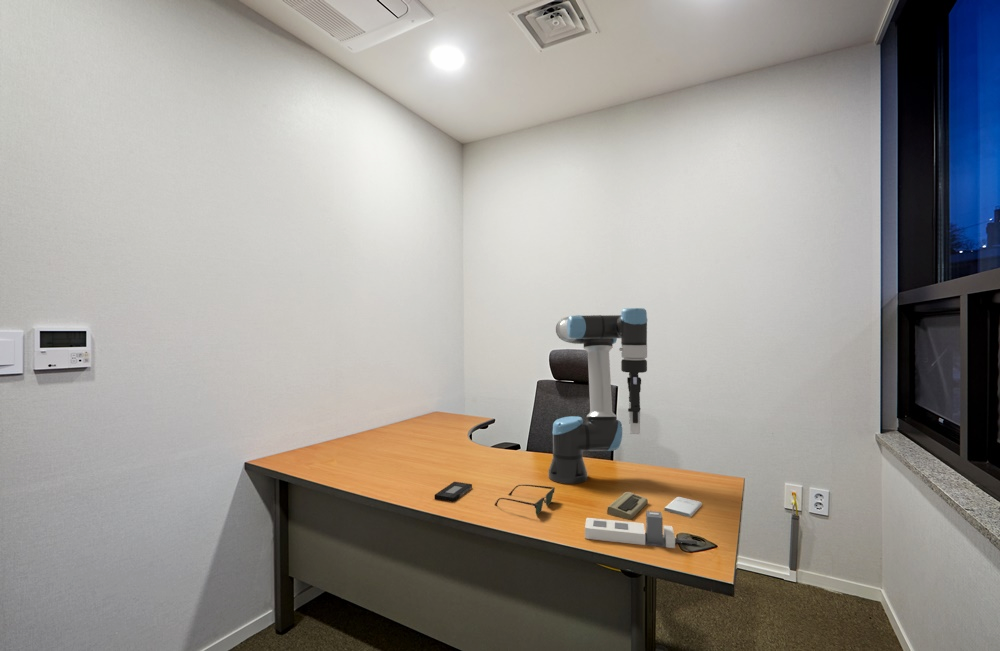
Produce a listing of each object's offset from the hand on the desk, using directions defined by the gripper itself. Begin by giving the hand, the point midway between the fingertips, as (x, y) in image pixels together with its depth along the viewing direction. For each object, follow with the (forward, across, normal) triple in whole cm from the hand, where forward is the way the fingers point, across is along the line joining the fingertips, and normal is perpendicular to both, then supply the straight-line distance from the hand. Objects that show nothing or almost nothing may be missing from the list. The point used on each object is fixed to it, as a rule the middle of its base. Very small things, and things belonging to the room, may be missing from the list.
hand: (634, 428), depth 139 cm
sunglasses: (+29, -6, -36) cm, 47 cm away
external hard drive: (+29, -15, +16) cm, 37 cm away
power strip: (+29, +10, +1) cm, 31 cm away
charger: (+28, +10, +5) cm, 31 cm away
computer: (+29, -10, -2) cm, 31 cm away
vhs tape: (+29, -10, -62) cm, 69 cm away
